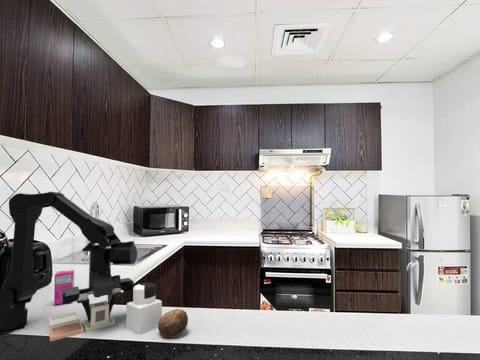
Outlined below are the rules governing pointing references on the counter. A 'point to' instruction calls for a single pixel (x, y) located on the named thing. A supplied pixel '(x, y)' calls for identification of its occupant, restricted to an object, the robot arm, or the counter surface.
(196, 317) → the counter surface
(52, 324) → the tray grey
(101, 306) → the letter block
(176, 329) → the brown potato
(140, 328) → the medicine bottle
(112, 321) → the tray sage
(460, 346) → the counter surface
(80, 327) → the tray terracotta
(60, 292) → the supplement box
